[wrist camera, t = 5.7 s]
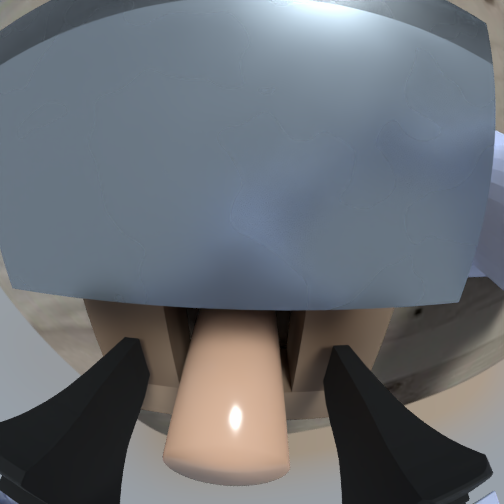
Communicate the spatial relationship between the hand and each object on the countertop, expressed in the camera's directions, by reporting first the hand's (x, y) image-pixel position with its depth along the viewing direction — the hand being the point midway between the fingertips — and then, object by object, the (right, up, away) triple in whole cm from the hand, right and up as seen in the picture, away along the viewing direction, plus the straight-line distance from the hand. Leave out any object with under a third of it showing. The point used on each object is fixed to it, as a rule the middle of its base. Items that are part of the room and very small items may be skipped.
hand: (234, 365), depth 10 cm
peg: (0, +2, +3) cm, 4 cm away
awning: (0, +9, 0) cm, 9 cm away
